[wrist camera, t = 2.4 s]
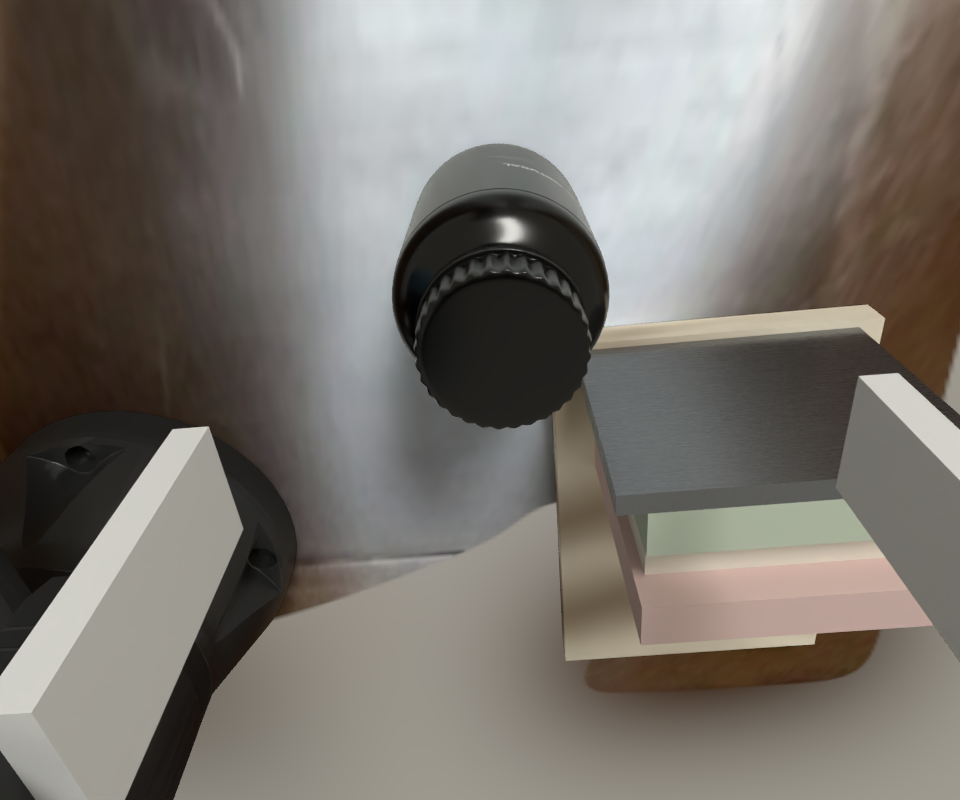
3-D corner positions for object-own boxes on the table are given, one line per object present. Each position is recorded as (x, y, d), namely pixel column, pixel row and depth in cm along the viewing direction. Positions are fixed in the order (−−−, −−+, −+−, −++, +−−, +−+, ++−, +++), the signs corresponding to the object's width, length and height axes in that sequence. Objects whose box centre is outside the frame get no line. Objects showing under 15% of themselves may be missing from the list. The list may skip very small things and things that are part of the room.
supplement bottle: (574, 128, 27) (637, 215, 17) (582, 293, 31) (637, 450, 20) (398, 149, 27) (353, 247, 17) (425, 311, 31) (400, 473, 21)
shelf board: (803, 623, 41) (814, 644, 40) (562, 639, 41) (565, 660, 40) (867, 304, 31) (884, 318, 30) (548, 331, 31) (552, 346, 30)
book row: (818, 449, 33) (949, 624, 24) (595, 466, 33) (640, 645, 24) (837, 345, 30) (992, 498, 21) (594, 365, 31) (644, 524, 22)
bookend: (856, 344, 30) (1009, 486, 22) (576, 367, 31) (615, 516, 22) (859, 327, 30) (1017, 465, 21) (575, 351, 30) (616, 495, 22)
